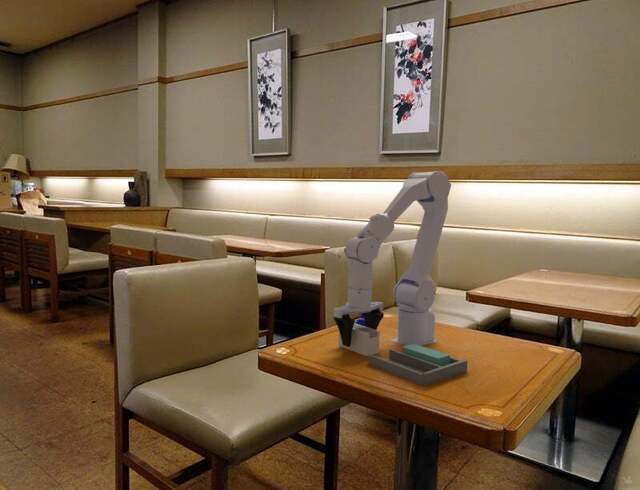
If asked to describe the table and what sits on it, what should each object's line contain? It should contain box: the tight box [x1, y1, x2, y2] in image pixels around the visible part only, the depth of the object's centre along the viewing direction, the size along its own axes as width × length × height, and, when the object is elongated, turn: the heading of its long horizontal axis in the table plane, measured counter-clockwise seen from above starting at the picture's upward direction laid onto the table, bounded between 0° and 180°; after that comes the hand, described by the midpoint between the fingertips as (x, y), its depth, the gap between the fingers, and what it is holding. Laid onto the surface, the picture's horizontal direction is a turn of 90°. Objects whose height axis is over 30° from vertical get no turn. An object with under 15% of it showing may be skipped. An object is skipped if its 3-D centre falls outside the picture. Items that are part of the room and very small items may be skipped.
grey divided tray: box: [367, 344, 468, 387], centre depth 104 cm, size 14×16×3 cm
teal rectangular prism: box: [401, 344, 451, 367], centre depth 106 cm, size 4×10×3 cm, turn 39°
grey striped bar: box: [338, 323, 381, 357], centre depth 116 cm, size 4×10×6 cm, turn 38°
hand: (358, 343), depth 116 cm, fingers open, 7 cm apart
